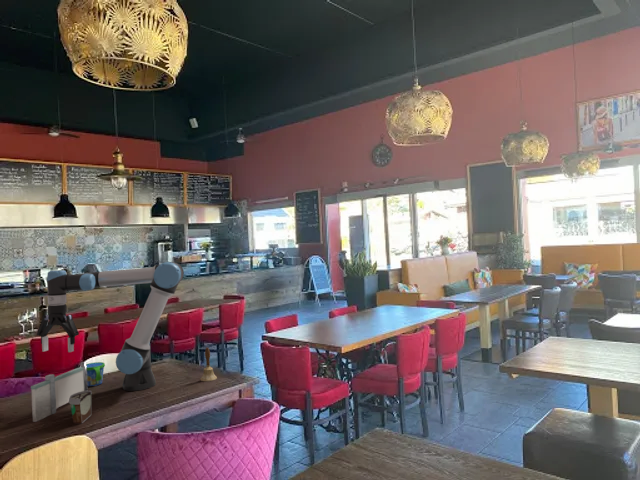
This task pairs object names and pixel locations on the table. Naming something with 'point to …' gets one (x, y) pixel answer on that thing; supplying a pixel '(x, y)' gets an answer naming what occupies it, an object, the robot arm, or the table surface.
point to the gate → (68, 385)
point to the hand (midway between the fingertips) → (58, 351)
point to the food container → (80, 406)
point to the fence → (48, 396)
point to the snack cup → (95, 373)
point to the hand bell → (208, 369)
